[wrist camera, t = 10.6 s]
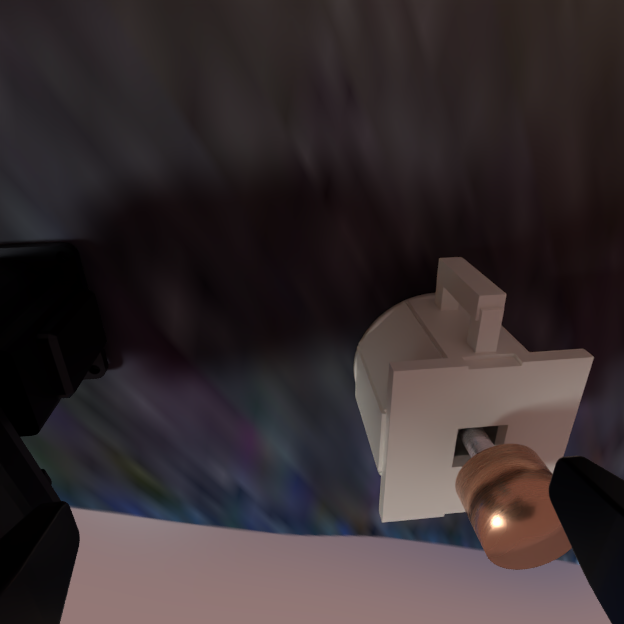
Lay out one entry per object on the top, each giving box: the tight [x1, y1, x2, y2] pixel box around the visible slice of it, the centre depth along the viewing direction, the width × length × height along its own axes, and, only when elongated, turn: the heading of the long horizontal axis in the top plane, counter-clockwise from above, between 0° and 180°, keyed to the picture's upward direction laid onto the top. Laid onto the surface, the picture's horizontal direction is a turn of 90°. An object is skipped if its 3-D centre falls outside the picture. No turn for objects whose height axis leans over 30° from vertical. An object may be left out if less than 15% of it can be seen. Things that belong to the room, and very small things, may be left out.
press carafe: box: [353, 257, 594, 522], centre depth 20 cm, size 8×10×6 cm
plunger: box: [455, 427, 572, 570], centre depth 18 cm, size 5×5×9 cm
